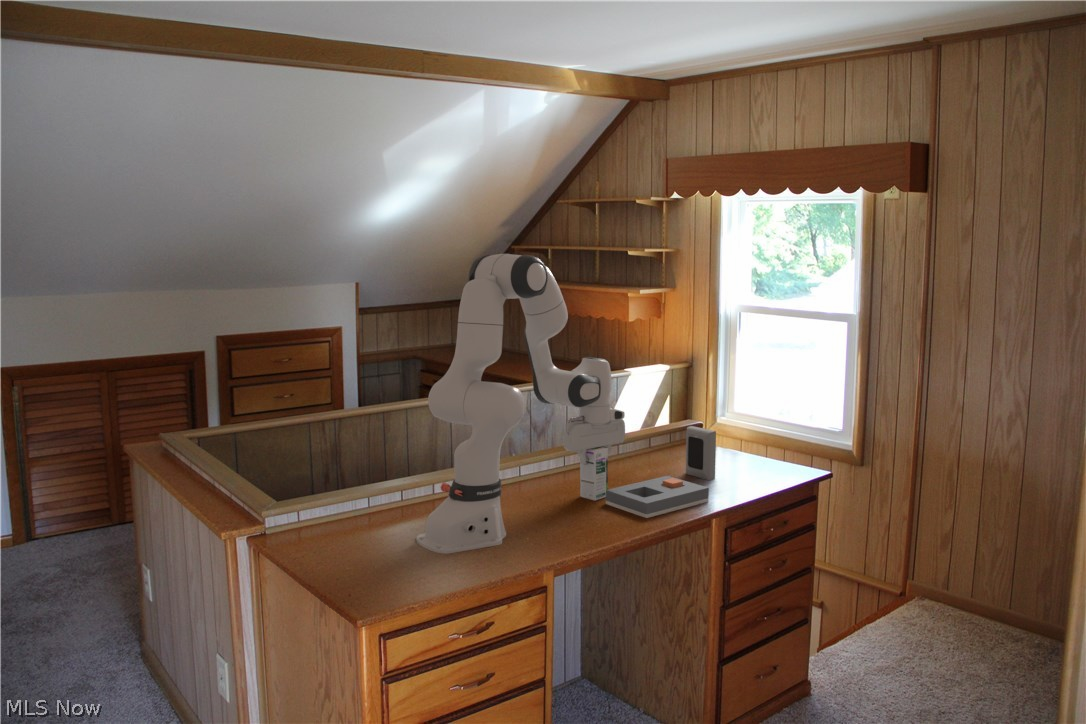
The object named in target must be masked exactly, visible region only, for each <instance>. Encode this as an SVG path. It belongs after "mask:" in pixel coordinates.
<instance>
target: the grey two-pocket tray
mask: <svg viewBox="0 0 1086 724" xmlns="http://www.w3.org/2000/svg"><path fill="white" fill-rule="evenodd" d="M672 478H673V479H677V480H680V481H683V486H682V487H677V488H669V487H666V486H663V480H668V479H672ZM709 492H710V488H709V486H705V485H700V484H697V483H695V482H694V483H693V482H691V481H687V480H683V479H680V478H676V477H673V476H670V475H664V476H660V477H656V478H652V479H647V480H642V481H639V482H634V483H630V484H626V485H621V486H617V487H613V488H608V490H606V497H605V504H606V505H608V506H610V507H613V508H617V509H619V510H622V511H625V512H627V513H631V514H633V515H636V516H639V517H643V518H645V519H649V518H652V517H655V516H660V515H663V514H668V513H671V512H674V511H679V510H682V509H687V508H690V507H693V506H697V505H701V504H704V503H709Z"/></svg>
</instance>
